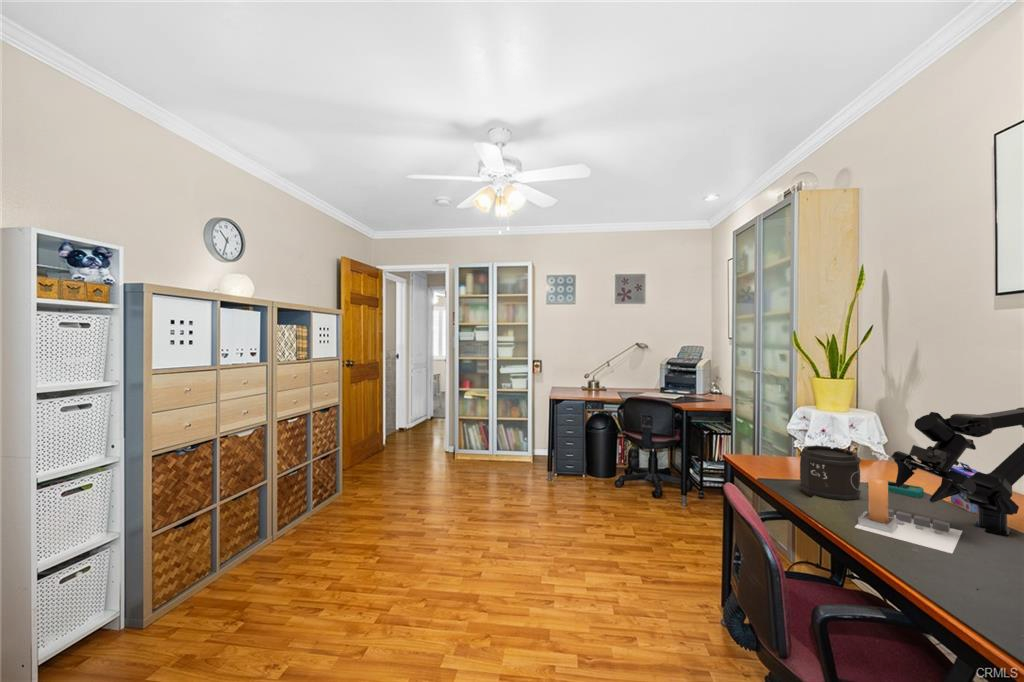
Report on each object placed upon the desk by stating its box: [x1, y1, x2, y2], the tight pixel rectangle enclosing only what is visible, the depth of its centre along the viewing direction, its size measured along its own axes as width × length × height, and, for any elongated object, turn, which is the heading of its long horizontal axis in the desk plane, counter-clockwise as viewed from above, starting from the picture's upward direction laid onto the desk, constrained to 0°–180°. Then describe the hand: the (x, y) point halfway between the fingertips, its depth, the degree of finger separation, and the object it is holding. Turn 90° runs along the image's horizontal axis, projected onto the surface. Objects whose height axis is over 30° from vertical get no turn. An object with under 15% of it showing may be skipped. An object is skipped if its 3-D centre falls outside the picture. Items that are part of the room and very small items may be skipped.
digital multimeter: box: [887, 480, 925, 499], centre depth 159 cm, size 7×15×3 cm, turn 38°
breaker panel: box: [854, 508, 963, 554], centre depth 124 cm, size 20×20×3 cm
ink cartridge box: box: [949, 461, 979, 514], centre depth 142 cm, size 10×6×14 cm, turn 164°
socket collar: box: [857, 510, 898, 533], centre depth 127 cm, size 8×8×2 cm
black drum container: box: [799, 445, 862, 501], centre depth 155 cm, size 18×18×16 cm
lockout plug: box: [867, 477, 889, 524], centre depth 127 cm, size 4×4×13 cm
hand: (913, 494), depth 126 cm, fingers open, 9 cm apart
